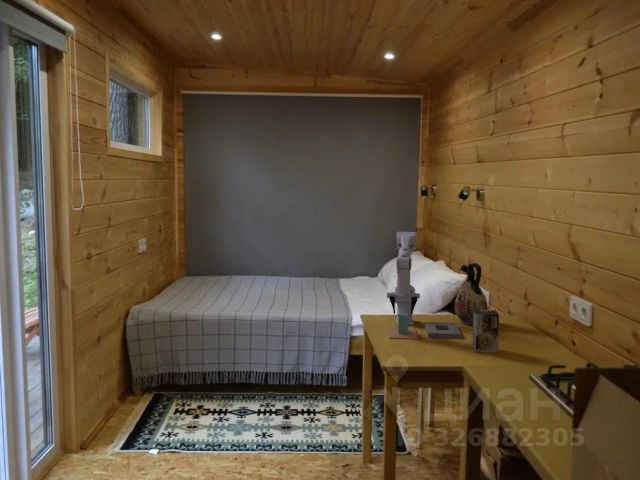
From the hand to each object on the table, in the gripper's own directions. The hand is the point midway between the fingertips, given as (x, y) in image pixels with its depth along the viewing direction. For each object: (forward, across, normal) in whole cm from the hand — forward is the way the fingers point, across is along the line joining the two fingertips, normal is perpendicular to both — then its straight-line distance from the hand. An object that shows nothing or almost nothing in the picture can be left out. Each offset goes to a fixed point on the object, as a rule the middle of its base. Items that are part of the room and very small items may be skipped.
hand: (402, 313), depth 238 cm
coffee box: (+9, +32, -20) cm, 39 cm away
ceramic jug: (+10, +34, +20) cm, 41 cm away
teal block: (+9, 0, 0) cm, 9 cm away
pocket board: (+9, +18, +4) cm, 21 cm away
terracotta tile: (+9, 0, 0) cm, 9 cm away
